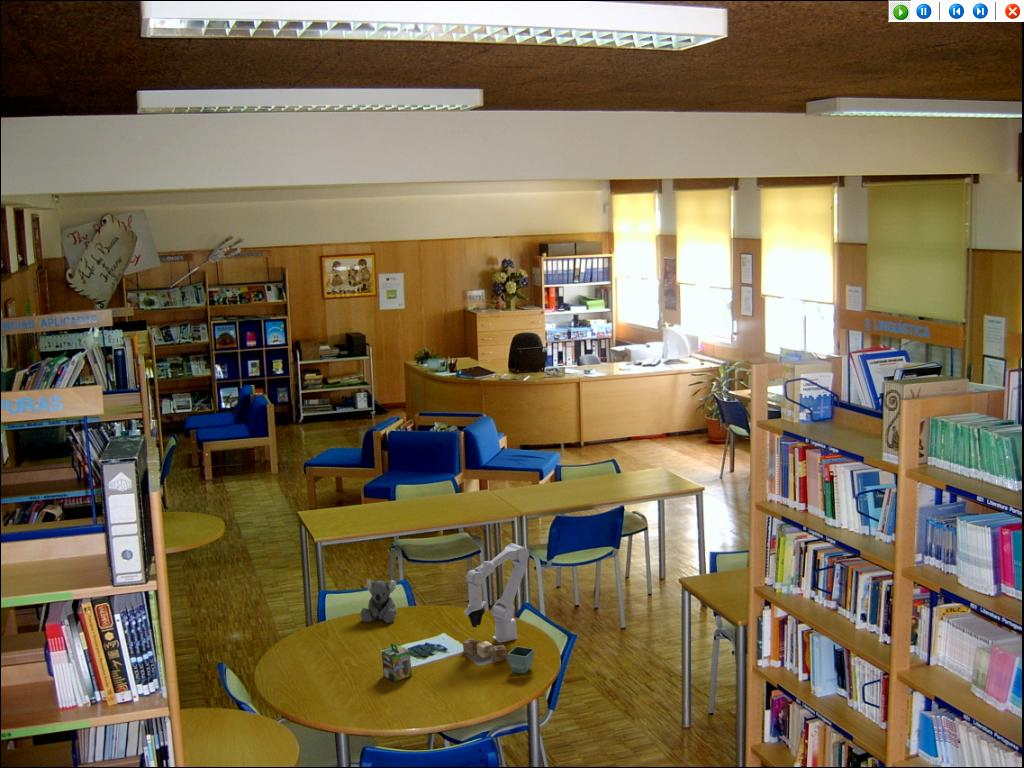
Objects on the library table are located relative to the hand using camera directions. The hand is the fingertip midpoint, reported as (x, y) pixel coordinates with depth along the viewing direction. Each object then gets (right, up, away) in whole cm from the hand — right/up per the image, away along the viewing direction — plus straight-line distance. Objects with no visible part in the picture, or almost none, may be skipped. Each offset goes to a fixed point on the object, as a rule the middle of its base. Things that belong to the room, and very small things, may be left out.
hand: (476, 625), depth 490 cm
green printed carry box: (-33, -16, -24) cm, 44 cm away
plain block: (+4, -11, -7) cm, 14 cm away
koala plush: (-48, -6, +44) cm, 65 cm away
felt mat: (+4, -12, -8) cm, 15 cm away
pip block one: (+11, -12, -12) cm, 20 cm away
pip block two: (-2, -11, -4) cm, 12 cm away
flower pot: (+20, -14, -25) cm, 35 cm away
